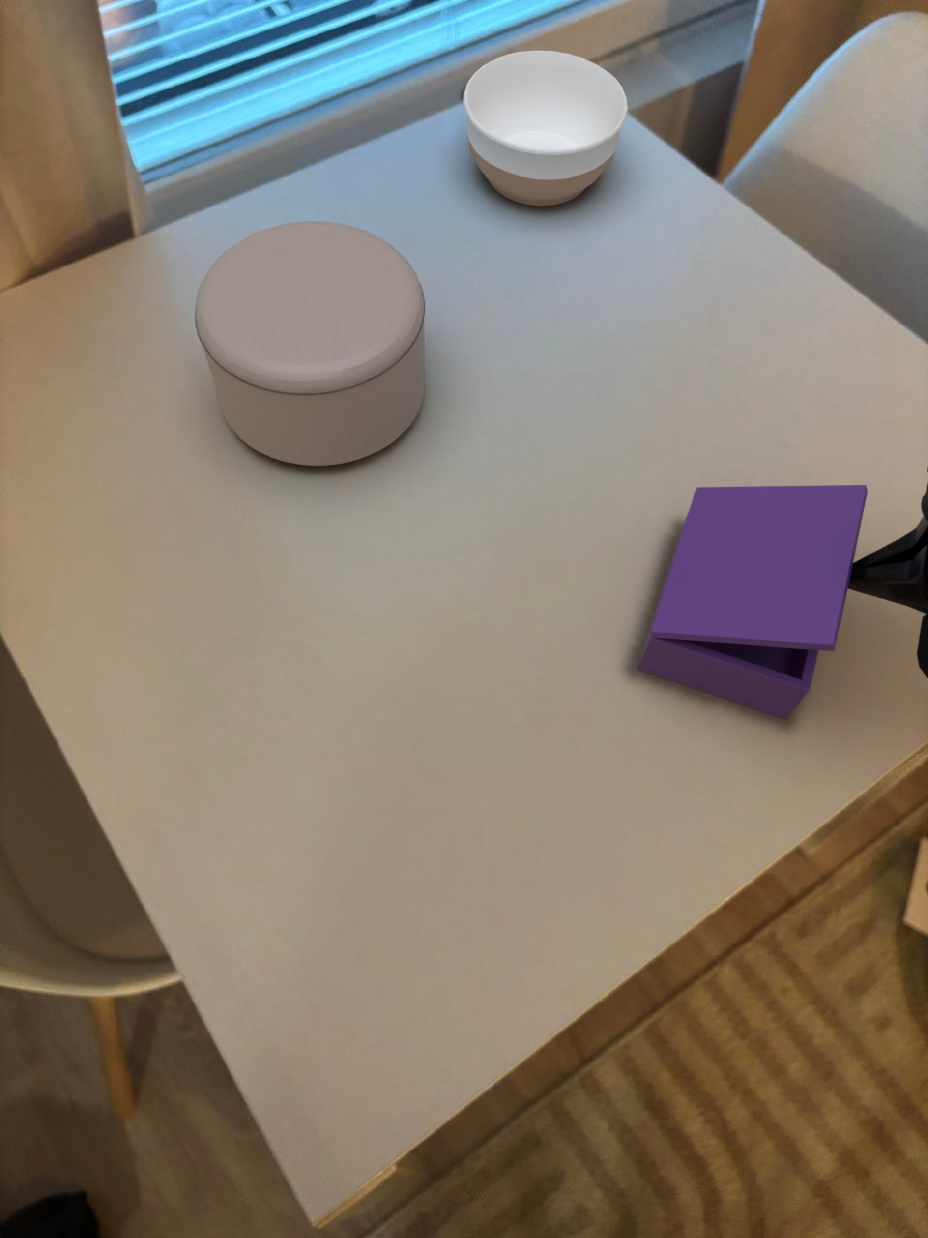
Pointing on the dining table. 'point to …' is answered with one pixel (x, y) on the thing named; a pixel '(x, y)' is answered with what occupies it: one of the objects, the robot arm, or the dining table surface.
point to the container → (314, 341)
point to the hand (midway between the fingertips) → (840, 578)
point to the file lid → (763, 566)
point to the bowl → (543, 124)
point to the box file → (733, 668)
